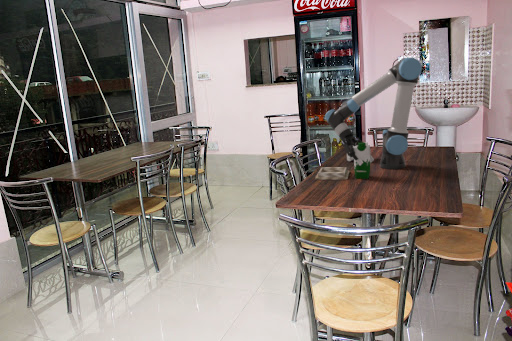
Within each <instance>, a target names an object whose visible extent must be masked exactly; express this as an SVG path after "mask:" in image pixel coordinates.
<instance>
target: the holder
mask: <svg viewBox="0 0 512 341" xmlns="http://www.w3.org/2000/svg"><path fill="white" fill-rule="evenodd" d="M349 176H350V170H347V166H346V167H344V166H342V167H341V166H340V167H339V166H337V167H335V166H331V167H330V166H329V167H326V166H325V167H323V166H321V167H320V168H319V171H318V172H317V174H316V175H315V178H314V179H315V180H316V181H317V180H329V181H331V180H332V181H333V180H334V181H337V180H338V181H339V180H340V181H342V180H343V181H345V180H346V181H347V180H348V179H349Z"/></svg>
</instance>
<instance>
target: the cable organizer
mask: <svg viewBox="0 0 512 341" xmlns="http://www.w3.org/2000/svg"><path fill="white" fill-rule="evenodd" d="M364 143H366V145H369V143H368V142H367V141H364ZM353 148H355V146H353ZM349 153H350V152H349ZM346 161H348V162H352V161H354V158H353V157H350V156H348V154H347V153H346Z"/></svg>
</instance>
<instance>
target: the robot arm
mask: <svg viewBox="0 0 512 341" xmlns="http://www.w3.org/2000/svg"><path fill="white" fill-rule="evenodd" d="M422 70H423V67H422V64H421V62H420V61H419V60H418V59H417V58H415V57H405V58H402V59H400V60H399V61H397V63H396V64H394V65H393V66H392V67H391V68H389V69H388V70H387V72H386V73H385V74H383V75H382V76H380V77H379V78H378V79H376V80H375V81H373V82H372V83H370V84H368V85H367V86H365V87H364V88H363V89H362V90H360V91H359V92H357V93H356V94H354V95H353V96H351V97H350V98H348V99H347V100H344V101H343V102H342V103H341V105H340V107H339V108H338V109H334V108H332V109H330V110H328V111H327V112H326V113H325V115H324V119H325V121H326V122H327V124H329V126H330V127H331V128H332V130H333V131H334V132H335V133H336V135H337V136H338V138H339V140H341V142H340V144H341V145H342V146H343V148H344V150H345V152H346V155H347V154H348V156H350V157H353V158H354V159H355V160H356V162H357V163H358V164H359V166H361V165H362V163H363V161H362V160H361V159H360V158H359V156H358V155H357V154H355V152H354V148H353V146H356V145H358V143H361V142H363V141H362V140H361V139H360V137H358V136H357V137H355V136H354V132H353V131H352V130H351V129H350V128H349V126H348V125H347V124H346V122H345V121H346V120H347V119H348V118H349V117H351V116H352V115H353V114H355V113H356V112H357V111H358V110H359V109H360V107H361V106H363V105H364V104H366V103H367V102H369V101H370V100H372V99H373V98H375V97H376V96H378V95H379V94H381V93H382V92H384V91H386V90H387V89H388V88H390V87H391V86H393V85H395V84H397V88H396V89H397V90H396V95H395V102H394V107H393V113H392V120H391V123H390V124H391V126H390V127H389V128H388V129H384V130H382V155H381V158H380V162H379V167H380V168H381V169H386V170H399V169H404V168H406V161H405V160H406V159H405V157H404V153H405V152H406V151H407V150H408V147H409V142H408V141H409V140H408V139H409V138H408V137H409V133H410V132H409V130H407V127H408V122H409V117H410V111H411V107H412V106H411V105H412V100H413V94H414V90H415V89H414V88H415V87H416V85H417V84H419V83H418V82H419V78H420V75H421V74H422ZM349 152H350V153H349ZM374 161H375V158H374V157H373V156H372V154H371V153H370V163H372V162H374Z"/></svg>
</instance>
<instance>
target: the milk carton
mask: <svg viewBox="0 0 512 341" xmlns="http://www.w3.org/2000/svg"><path fill="white" fill-rule="evenodd" d="M354 152H355V154H357V155H358V156H359V158H360V159H361V160H362V161H363V163H362V165H361V166H359V164H358V163H357V162H356V160H355V159H354V160H353V164H354V165H353V168H354V169H353V170H354V176H355V178H354V179H355V180H357V179H361V180H363V179H364V180H365V179H366V180H368V179H369V177H370V174H371V173H370V172H371V162H370V154H371V153H372V152H371V147H370V144H368V145H366V143H365V141H364V142H363V141H362V142H361V143H358V145H356V146H355V148H354Z"/></svg>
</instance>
